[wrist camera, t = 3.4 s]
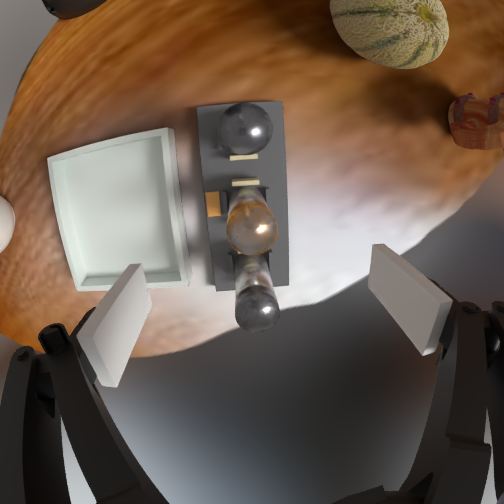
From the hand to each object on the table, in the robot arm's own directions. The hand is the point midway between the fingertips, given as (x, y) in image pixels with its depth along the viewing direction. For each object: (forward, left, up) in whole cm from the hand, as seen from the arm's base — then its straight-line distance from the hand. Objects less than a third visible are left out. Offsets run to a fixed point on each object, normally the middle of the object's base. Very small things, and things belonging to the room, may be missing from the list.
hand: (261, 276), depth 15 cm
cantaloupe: (+18, +24, -21) cm, 37 cm away
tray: (-17, 0, -21) cm, 27 cm away
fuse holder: (0, 0, -21) cm, 21 cm away
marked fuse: (0, 0, -20) cm, 20 cm away
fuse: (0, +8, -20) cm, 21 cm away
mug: (+33, +12, -21) cm, 41 cm away
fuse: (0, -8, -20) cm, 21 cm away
